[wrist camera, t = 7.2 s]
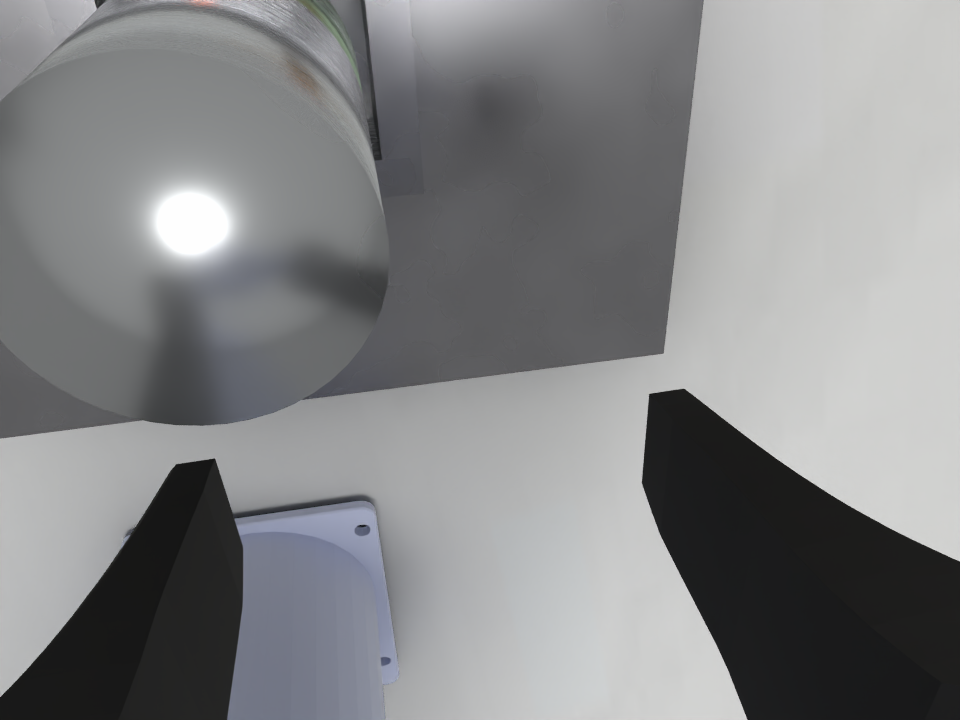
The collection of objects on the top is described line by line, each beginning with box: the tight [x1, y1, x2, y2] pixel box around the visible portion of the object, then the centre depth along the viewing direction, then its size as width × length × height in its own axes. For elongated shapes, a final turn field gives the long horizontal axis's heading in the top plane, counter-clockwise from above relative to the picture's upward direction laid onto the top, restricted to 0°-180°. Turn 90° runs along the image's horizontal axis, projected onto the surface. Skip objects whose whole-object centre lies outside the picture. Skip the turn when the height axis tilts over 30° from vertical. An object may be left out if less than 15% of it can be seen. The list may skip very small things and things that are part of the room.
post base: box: [0, 0, 704, 438], centre depth 16 cm, size 20×20×4 cm
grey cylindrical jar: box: [0, 0, 390, 426], centre depth 11 cm, size 4×4×6 cm
